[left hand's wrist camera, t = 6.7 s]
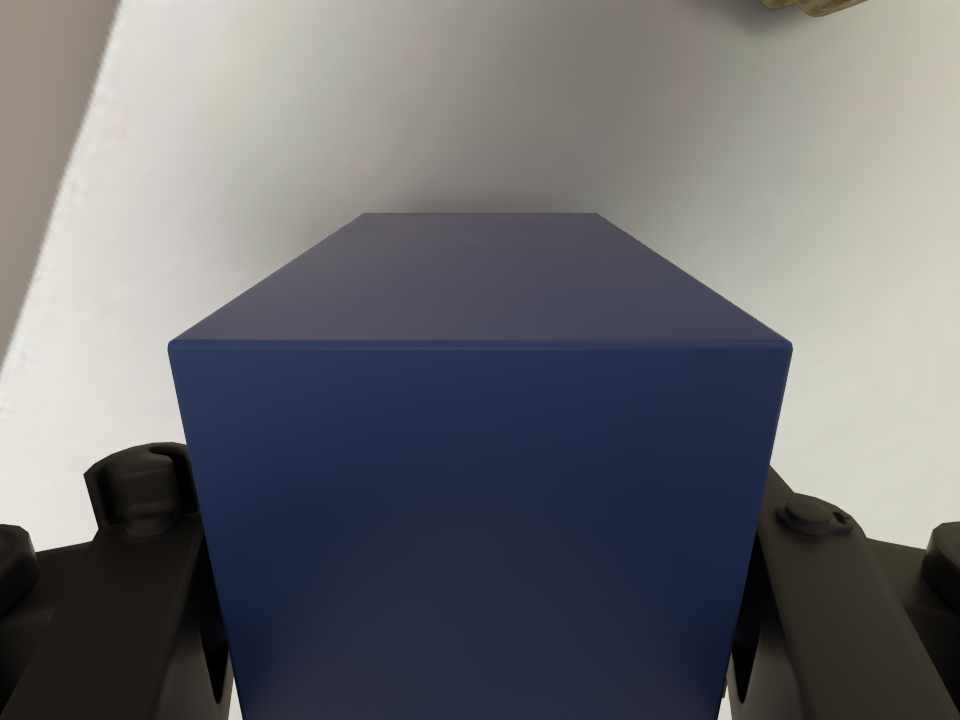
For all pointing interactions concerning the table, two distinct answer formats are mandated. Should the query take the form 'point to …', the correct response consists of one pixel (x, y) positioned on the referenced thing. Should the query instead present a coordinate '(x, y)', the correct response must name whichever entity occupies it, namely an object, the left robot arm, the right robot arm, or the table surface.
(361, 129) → the table surface
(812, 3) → the sculpture
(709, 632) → the bar
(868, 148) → the table surface
